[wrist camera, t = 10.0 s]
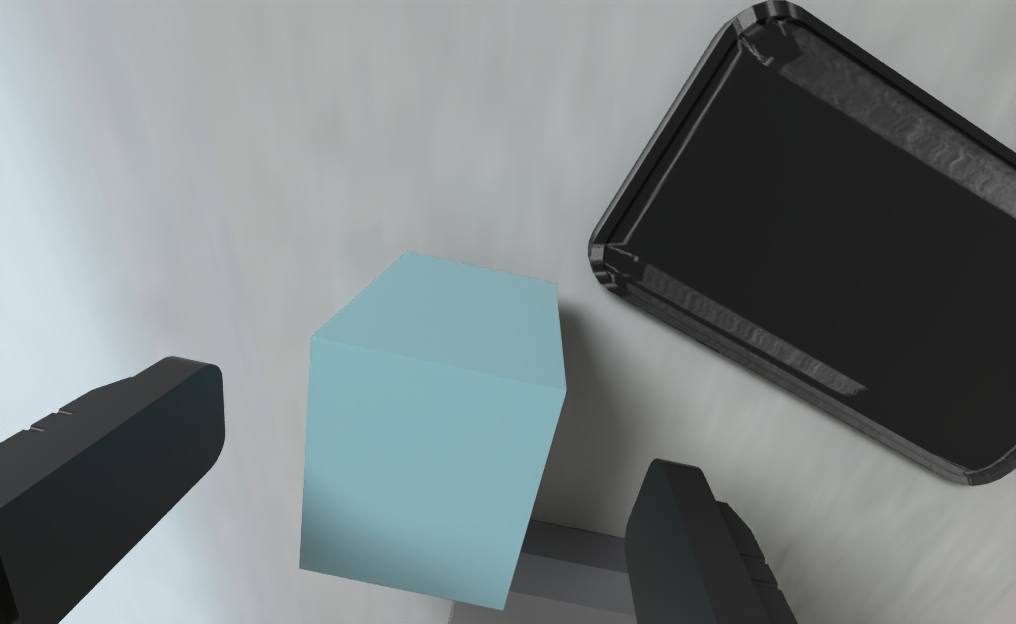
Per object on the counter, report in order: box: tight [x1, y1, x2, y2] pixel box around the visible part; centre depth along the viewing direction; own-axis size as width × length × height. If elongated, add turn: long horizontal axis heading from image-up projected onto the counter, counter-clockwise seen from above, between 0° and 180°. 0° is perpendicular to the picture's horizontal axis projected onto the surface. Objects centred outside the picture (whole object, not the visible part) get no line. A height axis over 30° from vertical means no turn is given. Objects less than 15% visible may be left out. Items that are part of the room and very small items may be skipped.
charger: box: [299, 251, 567, 610], centre depth 11 cm, size 5×4×7 cm
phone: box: [588, 0, 1016, 486], centre depth 13 cm, size 8×1×15 cm
